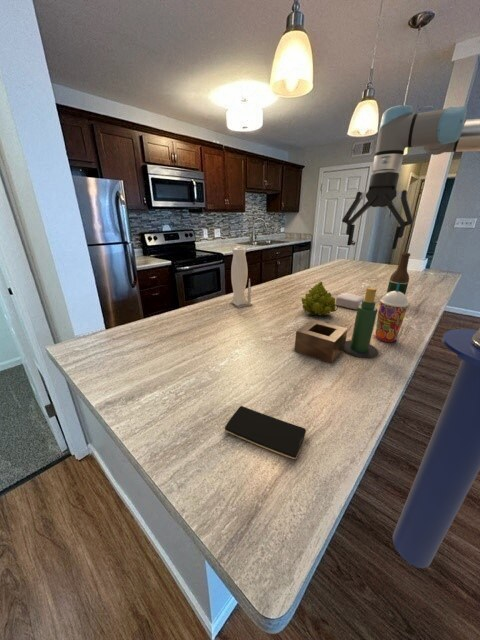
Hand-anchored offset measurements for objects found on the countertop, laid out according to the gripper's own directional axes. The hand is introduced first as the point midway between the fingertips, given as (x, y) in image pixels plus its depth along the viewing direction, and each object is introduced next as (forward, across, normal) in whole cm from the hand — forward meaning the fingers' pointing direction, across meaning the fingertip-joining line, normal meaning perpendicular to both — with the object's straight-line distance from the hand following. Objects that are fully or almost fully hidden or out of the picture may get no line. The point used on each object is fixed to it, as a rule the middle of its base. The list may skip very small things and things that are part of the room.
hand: (370, 246), depth 86 cm
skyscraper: (+31, -52, -2) cm, 60 cm away
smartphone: (+30, -1, -62) cm, 69 cm away
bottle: (+30, +5, -14) cm, 33 cm away
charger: (+31, -7, +28) cm, 42 cm away
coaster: (+30, +5, -14) cm, 34 cm away
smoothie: (+31, +10, 0) cm, 32 cm away
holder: (+30, -5, -22) cm, 38 cm away
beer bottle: (+31, +6, +45) cm, 55 cm away
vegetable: (+31, -18, +9) cm, 37 cm away
